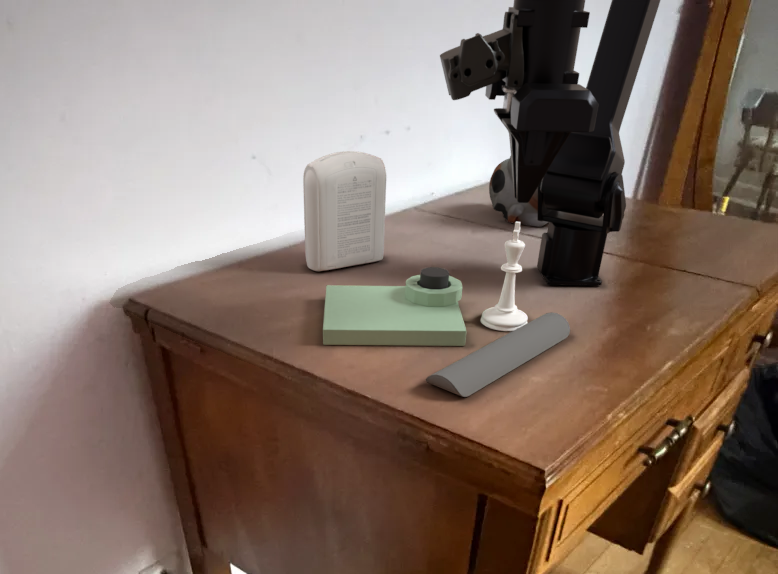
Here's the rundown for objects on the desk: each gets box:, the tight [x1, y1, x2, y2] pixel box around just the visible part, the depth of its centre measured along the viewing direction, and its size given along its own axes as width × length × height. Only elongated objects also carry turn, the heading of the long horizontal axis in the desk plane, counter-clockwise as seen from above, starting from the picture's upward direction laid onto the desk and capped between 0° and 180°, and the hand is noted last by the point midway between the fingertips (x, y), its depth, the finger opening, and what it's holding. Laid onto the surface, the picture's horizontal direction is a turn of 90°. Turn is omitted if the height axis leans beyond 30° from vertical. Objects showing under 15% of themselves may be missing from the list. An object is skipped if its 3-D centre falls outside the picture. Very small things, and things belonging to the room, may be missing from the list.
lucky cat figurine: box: [488, 155, 549, 228], centre depth 102 cm, size 15×12×14 cm
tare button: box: [419, 266, 450, 289], centre depth 76 cm, size 3×3×2 cm
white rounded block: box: [302, 150, 387, 272], centre depth 85 cm, size 10×4×12 cm, turn 123°
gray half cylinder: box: [424, 311, 571, 398], centre depth 68 cm, size 4×20×2 cm, turn 138°
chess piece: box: [480, 221, 529, 332], centre depth 73 cm, size 5×5×10 cm
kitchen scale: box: [322, 274, 467, 347], centre depth 74 cm, size 14×12×3 cm
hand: (521, 200), depth 68 cm, fingers closed
